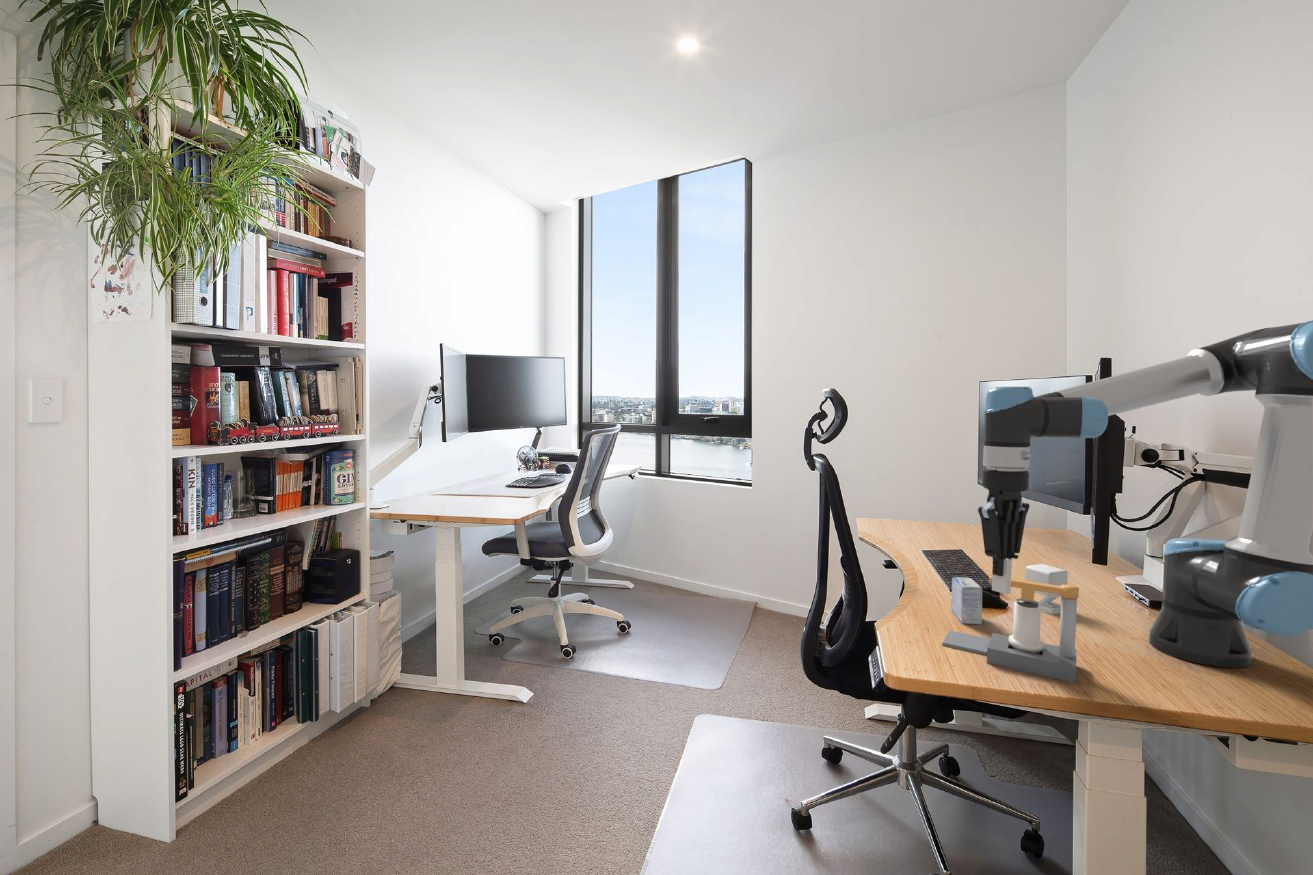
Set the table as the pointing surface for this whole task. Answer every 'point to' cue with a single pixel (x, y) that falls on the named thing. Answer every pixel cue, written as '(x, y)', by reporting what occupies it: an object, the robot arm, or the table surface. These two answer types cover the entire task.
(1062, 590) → the tan long bar
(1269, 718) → the table surface
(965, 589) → the medicine box
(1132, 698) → the table surface
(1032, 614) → the plug
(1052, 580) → the security camera
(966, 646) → the pad
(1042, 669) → the grey post stand
